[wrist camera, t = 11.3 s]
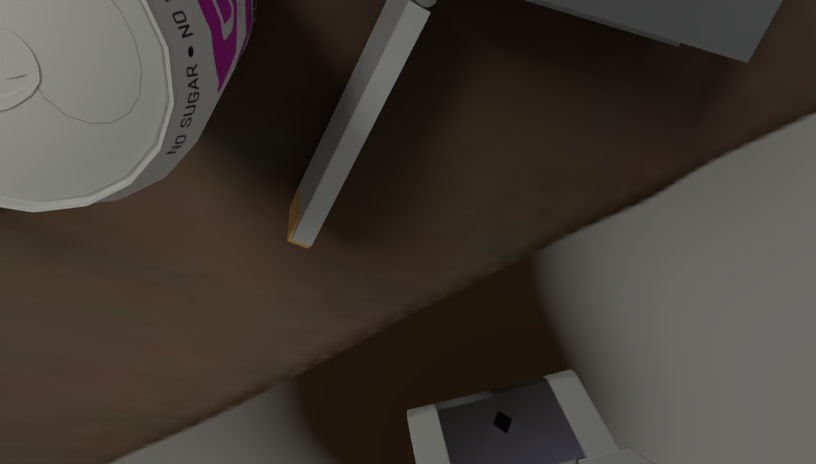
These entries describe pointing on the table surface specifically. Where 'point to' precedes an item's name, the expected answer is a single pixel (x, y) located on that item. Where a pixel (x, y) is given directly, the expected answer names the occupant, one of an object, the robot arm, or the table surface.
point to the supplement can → (108, 92)
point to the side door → (355, 115)
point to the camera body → (682, 21)
